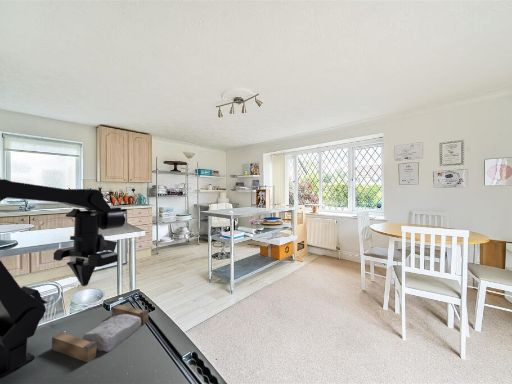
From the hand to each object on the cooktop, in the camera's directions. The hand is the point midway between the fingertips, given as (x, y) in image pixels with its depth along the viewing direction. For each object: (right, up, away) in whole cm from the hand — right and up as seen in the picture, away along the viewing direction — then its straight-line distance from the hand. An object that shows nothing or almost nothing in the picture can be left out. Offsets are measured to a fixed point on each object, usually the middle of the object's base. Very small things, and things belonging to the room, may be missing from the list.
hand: (84, 285), depth 65 cm
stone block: (+10, -13, -4) cm, 17 cm away
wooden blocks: (+8, -12, -3) cm, 15 cm away
